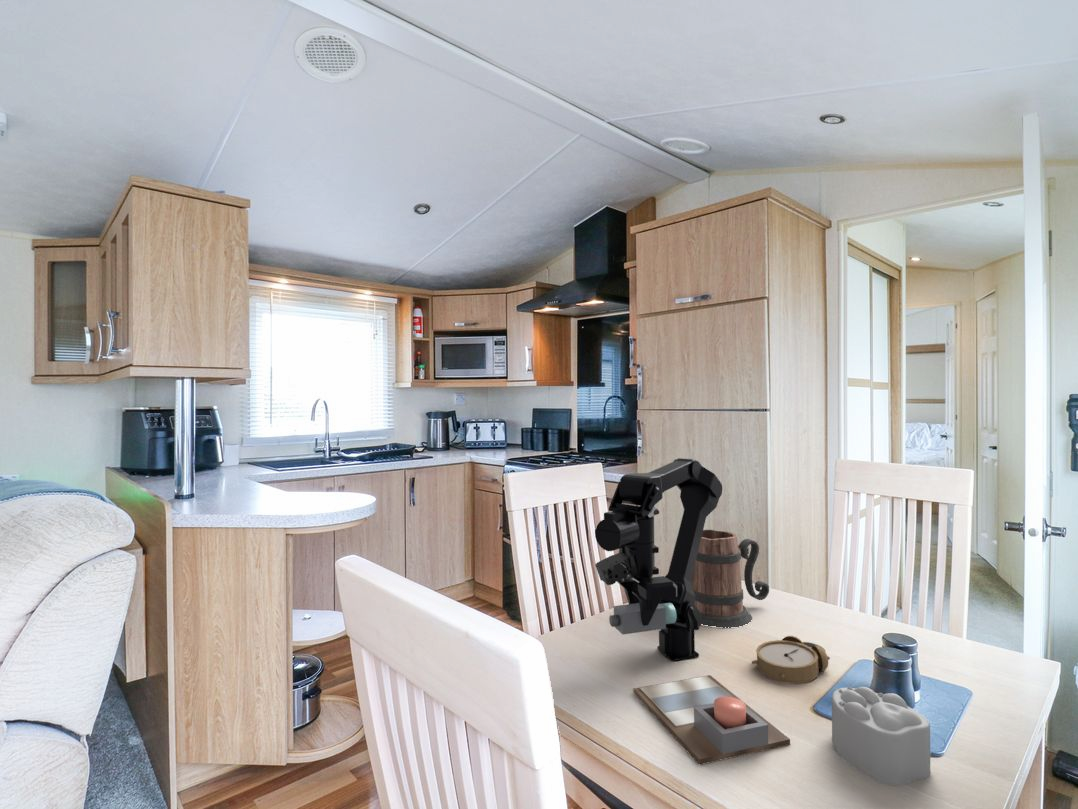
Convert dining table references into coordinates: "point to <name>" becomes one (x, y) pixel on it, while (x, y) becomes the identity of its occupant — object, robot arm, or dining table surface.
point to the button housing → (731, 730)
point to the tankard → (724, 579)
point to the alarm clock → (791, 660)
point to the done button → (729, 712)
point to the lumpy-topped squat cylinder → (880, 735)
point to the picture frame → (677, 715)
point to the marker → (630, 618)
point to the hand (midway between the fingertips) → (640, 621)
